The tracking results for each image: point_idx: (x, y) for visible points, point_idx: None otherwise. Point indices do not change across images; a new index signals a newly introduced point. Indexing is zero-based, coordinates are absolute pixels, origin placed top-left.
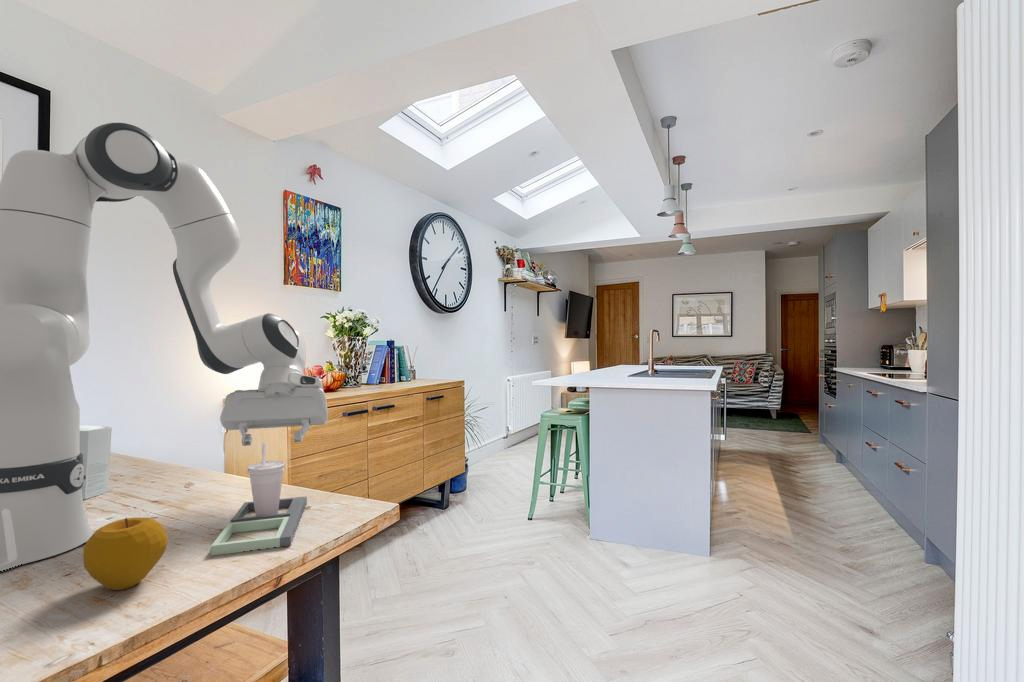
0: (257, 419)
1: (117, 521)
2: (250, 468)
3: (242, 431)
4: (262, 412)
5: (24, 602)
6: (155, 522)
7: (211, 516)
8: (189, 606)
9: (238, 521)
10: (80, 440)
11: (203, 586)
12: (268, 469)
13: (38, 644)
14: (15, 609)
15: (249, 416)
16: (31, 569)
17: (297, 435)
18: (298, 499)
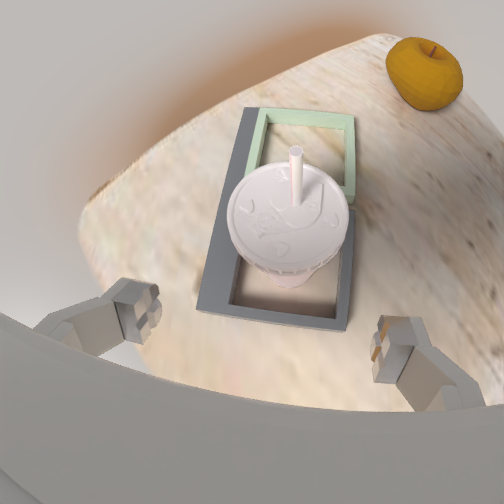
0: (379, 413)
1: (449, 61)
2: (335, 183)
3: (441, 359)
4: (345, 473)
5: (480, 114)
6: (405, 48)
7: (405, 316)
8: (333, 51)
9: None
10: None
11: (333, 70)
12: (278, 163)
13: None
14: (476, 106)
15: (452, 428)
16: None
17: (134, 284)
18: (216, 292)
